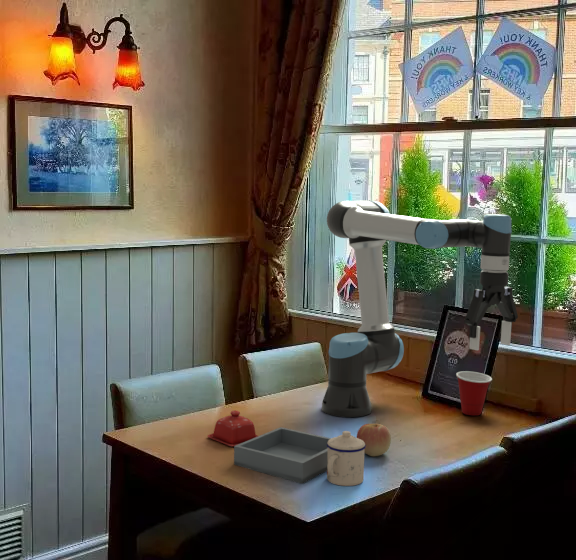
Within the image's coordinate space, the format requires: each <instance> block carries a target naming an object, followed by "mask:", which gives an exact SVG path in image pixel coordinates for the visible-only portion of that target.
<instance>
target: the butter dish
mask: <svg viewBox="0 0 576 560" xmlns="http://www.w3.org/2000/svg"><path fill="white" fill-rule="evenodd" d="M215 422H216V423H215V425H214V430H213V433H211V434H207V438H209V439H211V440H213V441H217V442H218V443H220V444H223V445H226V446H229V447H233V448H234V446H236V445H238V444H241V443H243V442H246V441H248V440H251V439H253V438H255V437H258V436H259V435H257V434H256V429H255V424H254V422H253V421H252V420H251V419H249V418H248V417H245V416H242V415H241V412H240V411H239V410H232V411H230V415H226V416H224V417H223V416H222V417H221V418H220V419H218V420H216V421H215Z"/></svg>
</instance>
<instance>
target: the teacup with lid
mask: <svg viewBox="0 0 576 560" xmlns="http://www.w3.org/2000/svg"><path fill="white" fill-rule="evenodd" d="M330 438H331V439H329V440H328V442H327V447H328V455H327V471H326V479H327V481H328V482H329V483H331V484H333V485H337V486H340V487H353V486H357V485H360V484H361V483H363V481H364V476H365V473H364V471H365V453H364V449H365V447H366V445H365V443H364V441H363V440H361V439H358V438H357V436H354V435H352V433H351V431H348V430H344V431H342V433H341V434H339V435H337V436H335V437H330Z"/></svg>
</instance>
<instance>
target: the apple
mask: <svg viewBox="0 0 576 560" xmlns="http://www.w3.org/2000/svg"><path fill="white" fill-rule="evenodd" d="M356 438H358V439H361V440H363V441H364V443H365V445H366V447H365V449H364V455H365V454H366V455H368V456H369V457H379V456H382V455H383V454H385V453H386V452H387V451H388V450H389V448H390V446H391V441H392V437H391V432H390V430H389V428H388V427H387V426H385V425H383V424H380V423H364V424H363V425H362V426H360V428H358V430H357V432H356Z"/></svg>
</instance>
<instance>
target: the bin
mask: <svg viewBox="0 0 576 560" xmlns="http://www.w3.org/2000/svg"><path fill="white" fill-rule="evenodd" d="M331 438H332V437H327V436H323V435H317V434H313V433H309V432H304V431H300V430H296V429H291V428H286V427H283V426H282V427H281V426H280V427H278V428H275V429H273V430H271V431H268V432H265V433H263V434H260V435H258V437H255V438H253V439H251V440H248V441H246V442H243V443H241V444H238V445H236V446H234V447H233V465H234V466H237V467H242V468H245V469H248V470H251V471H254V472H257V473H260V474H261V473H262V474H265V475H270V476H272V477H276V478H279V479H283V480H286V481H291V482H293V483H297V484H301V485H304V484H305V483H307V482H308V481H311V480H313V479H315V478H317V477H318V476H320V475H322V474H324V473H327V455H328V447H327V442H328V440H329V439H331Z"/></svg>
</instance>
